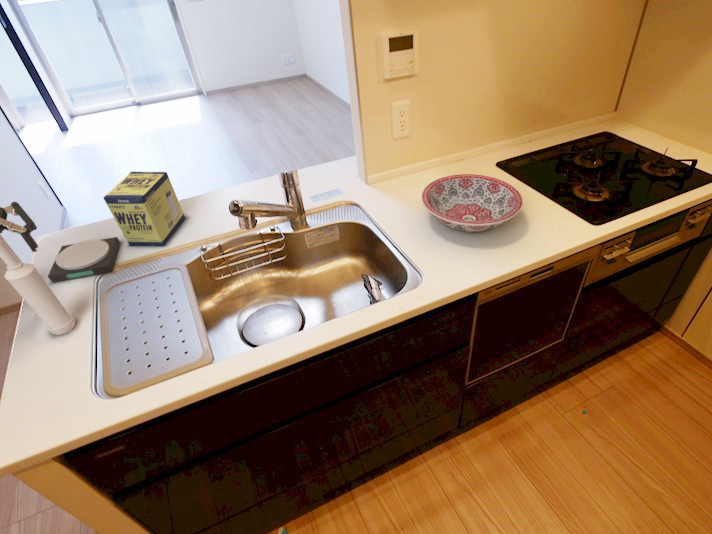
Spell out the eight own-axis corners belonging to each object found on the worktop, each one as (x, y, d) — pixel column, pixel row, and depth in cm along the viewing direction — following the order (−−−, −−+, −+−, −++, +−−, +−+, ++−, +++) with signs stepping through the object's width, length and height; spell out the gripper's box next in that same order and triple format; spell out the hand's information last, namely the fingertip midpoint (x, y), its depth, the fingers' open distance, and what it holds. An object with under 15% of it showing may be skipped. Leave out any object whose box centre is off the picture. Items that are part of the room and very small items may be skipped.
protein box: (128, 246, 121) (101, 197, 111) (153, 217, 133) (131, 170, 122) (164, 246, 121) (141, 197, 110) (186, 217, 132) (167, 170, 122)
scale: (52, 283, 110) (45, 274, 108) (66, 252, 120) (60, 243, 118) (111, 272, 113) (106, 263, 111) (120, 243, 123) (115, 234, 120)
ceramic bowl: (536, 238, 122) (542, 213, 116) (441, 257, 116) (443, 232, 110) (491, 190, 142) (494, 168, 137) (408, 205, 136) (408, 182, 131)
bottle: (81, 320, 100) (14, 229, 83) (66, 336, 96) (-7, 245, 79) (61, 318, 100) (-10, 228, 83) (45, 334, 96) (-33, 243, 79)
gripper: (-95, 196, 78) (-39, 271, 80) (-4, 170, 86) (46, 239, 88) (-77, 211, 85) (-25, 280, 87) (6, 185, 92) (53, 250, 94)
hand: (11, 259), depth 87 cm, fingers open, 8 cm apart
